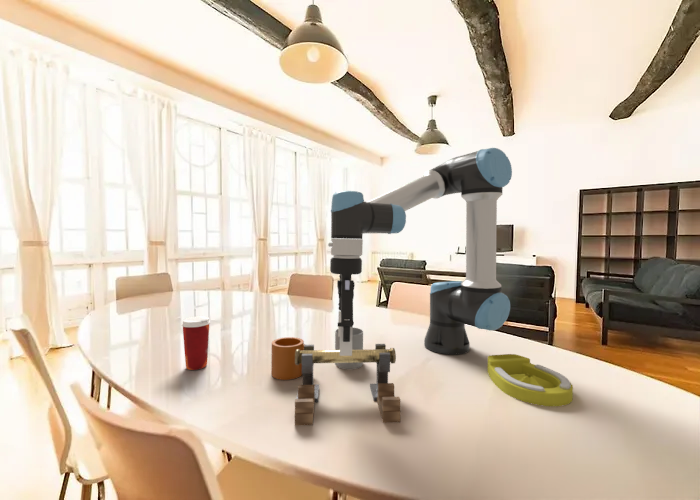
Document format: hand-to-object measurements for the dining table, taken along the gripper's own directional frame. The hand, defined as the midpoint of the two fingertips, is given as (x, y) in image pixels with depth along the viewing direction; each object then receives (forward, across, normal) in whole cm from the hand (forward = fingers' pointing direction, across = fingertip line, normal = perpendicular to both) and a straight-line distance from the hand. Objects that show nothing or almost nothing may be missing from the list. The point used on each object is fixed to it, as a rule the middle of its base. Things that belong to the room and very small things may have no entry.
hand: (344, 344), depth 77 cm
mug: (+13, -12, -14) cm, 22 cm away
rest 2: (+12, +8, +10) cm, 18 cm away
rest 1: (+12, +8, -8) cm, 17 cm away
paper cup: (+13, -19, -42) cm, 48 cm away
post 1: (+12, 0, -8) cm, 15 cm away
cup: (+12, -19, +2) cm, 23 cm away
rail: (+4, 0, 0) cm, 4 cm away
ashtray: (+12, -2, +48) cm, 49 cm away
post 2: (+12, 0, +10) cm, 15 cm away
